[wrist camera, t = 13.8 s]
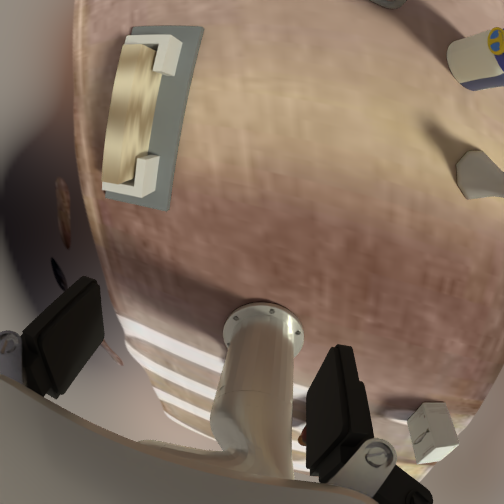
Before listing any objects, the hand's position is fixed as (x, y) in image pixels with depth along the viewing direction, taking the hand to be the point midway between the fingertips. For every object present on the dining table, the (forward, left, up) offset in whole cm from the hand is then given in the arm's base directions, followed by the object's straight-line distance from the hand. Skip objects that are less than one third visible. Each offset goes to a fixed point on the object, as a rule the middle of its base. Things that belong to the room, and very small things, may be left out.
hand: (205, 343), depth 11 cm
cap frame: (+7, +17, -28) cm, 34 cm away
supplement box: (-37, -47, -28) cm, 66 cm away
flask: (+11, -28, -29) cm, 42 cm away
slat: (+7, +17, -27) cm, 33 cm away
